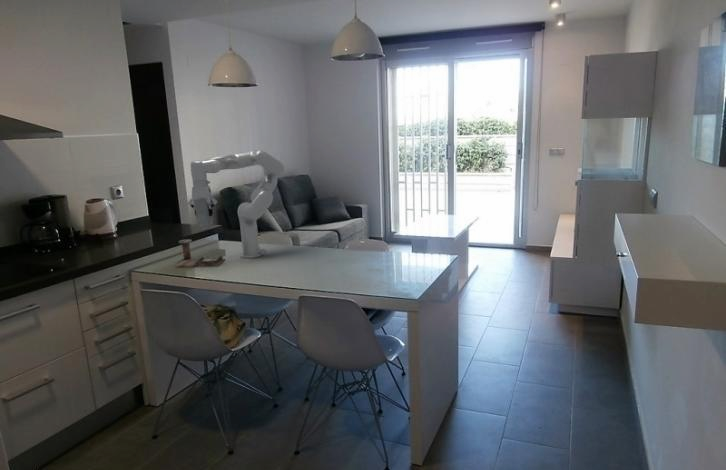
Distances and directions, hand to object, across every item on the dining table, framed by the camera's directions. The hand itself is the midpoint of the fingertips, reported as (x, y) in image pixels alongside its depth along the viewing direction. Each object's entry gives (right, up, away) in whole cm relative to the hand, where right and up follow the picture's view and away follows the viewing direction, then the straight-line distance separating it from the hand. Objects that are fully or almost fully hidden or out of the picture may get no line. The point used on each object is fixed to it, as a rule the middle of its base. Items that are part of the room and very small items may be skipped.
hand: (204, 215), depth 273 cm
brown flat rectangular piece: (-4, -27, +6) cm, 28 cm away
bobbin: (-14, -26, +15) cm, 33 cm away
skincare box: (0, -6, +1) cm, 6 cm away
